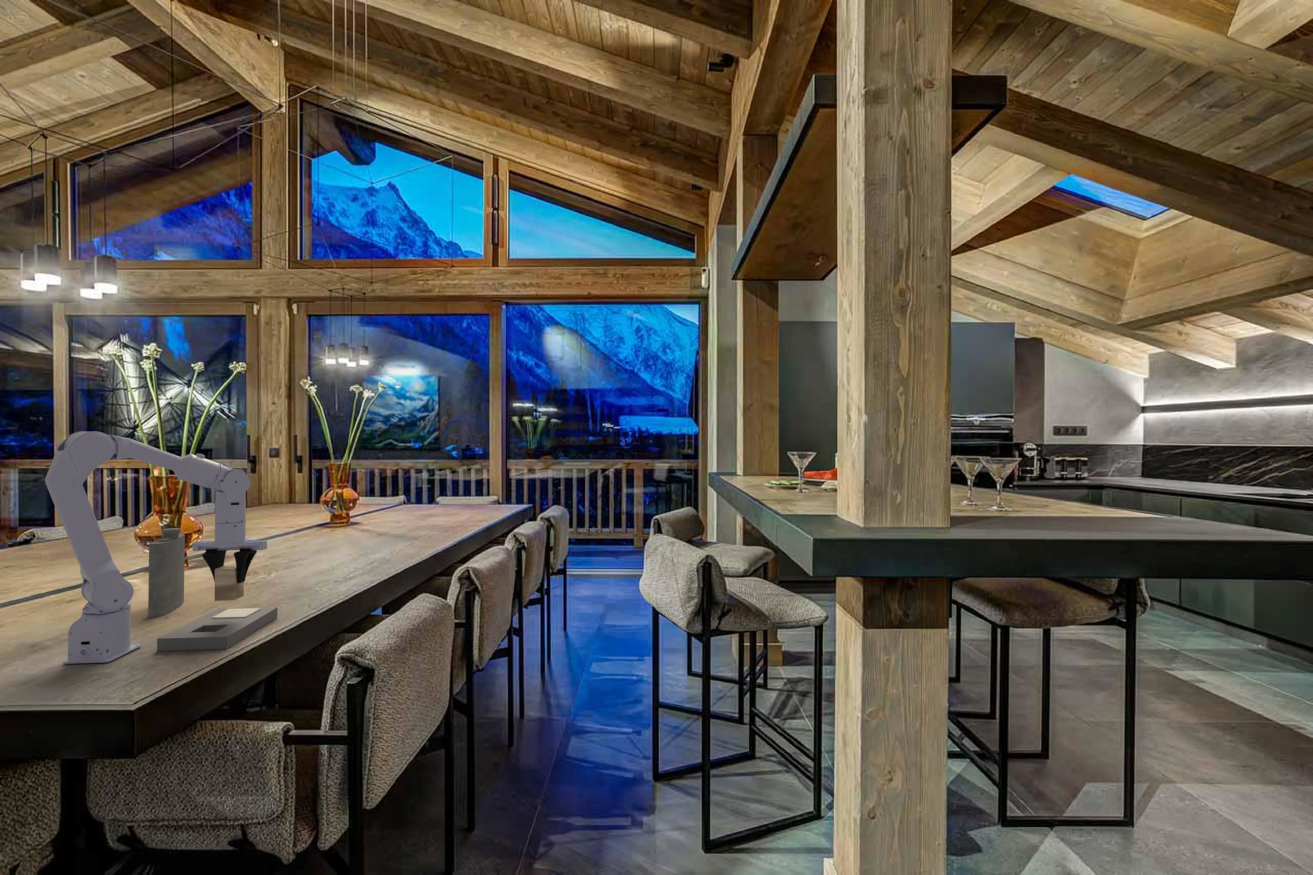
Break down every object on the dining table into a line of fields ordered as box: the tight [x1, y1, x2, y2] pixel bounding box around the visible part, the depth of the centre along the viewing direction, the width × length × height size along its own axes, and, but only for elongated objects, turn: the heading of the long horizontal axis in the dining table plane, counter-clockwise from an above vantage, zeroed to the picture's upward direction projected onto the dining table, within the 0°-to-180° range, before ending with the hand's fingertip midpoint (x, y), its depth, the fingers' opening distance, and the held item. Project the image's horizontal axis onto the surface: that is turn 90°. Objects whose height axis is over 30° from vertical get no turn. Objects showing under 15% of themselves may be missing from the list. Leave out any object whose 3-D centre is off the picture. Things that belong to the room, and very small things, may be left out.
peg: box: [214, 564, 245, 602], centre depth 140 cm, size 4×4×7 cm
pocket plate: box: [156, 606, 278, 652], centre depth 137 cm, size 22×13×3 cm, turn 8°
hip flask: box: [147, 527, 186, 618], centre depth 156 cm, size 16×4×20 cm, turn 21°
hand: (229, 582), depth 140 cm, fingers closed on peg, 4 cm apart
